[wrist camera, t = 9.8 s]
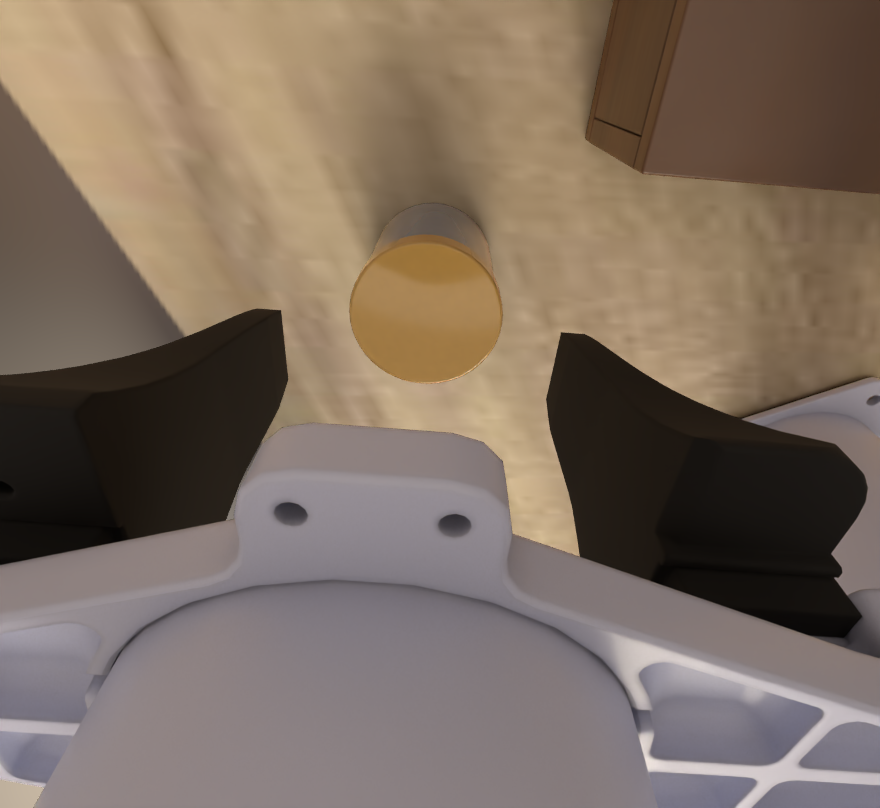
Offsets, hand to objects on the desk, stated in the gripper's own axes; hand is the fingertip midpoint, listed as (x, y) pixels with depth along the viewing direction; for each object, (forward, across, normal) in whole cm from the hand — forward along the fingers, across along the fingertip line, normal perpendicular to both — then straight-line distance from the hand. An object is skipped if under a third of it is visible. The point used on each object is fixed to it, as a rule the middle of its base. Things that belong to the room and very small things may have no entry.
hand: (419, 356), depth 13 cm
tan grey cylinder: (+8, 0, 0) cm, 8 cm away
